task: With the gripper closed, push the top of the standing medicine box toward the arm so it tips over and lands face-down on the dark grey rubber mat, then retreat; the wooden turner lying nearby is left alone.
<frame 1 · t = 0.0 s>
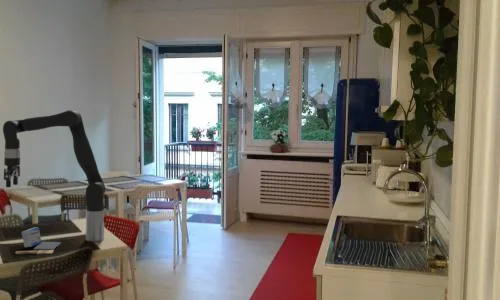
hand: (11, 185, 234), 29 cm above the table, fingers open, 8 cm apart
medicine box: (33, 245, 224), on the table
rubber mat: (47, 246, 225), on the table
wooden turner: (36, 253, 214), on the table
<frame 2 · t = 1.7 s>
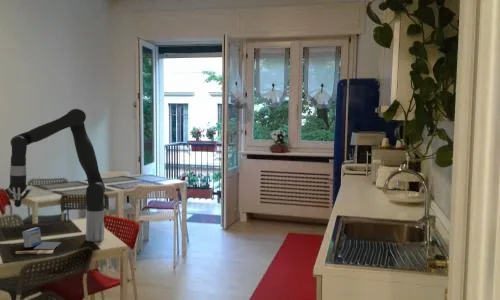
hand: (17, 206, 222), 21 cm above the table, fingers closed
medicine box: (33, 245, 224), on the table, touching rubber mat
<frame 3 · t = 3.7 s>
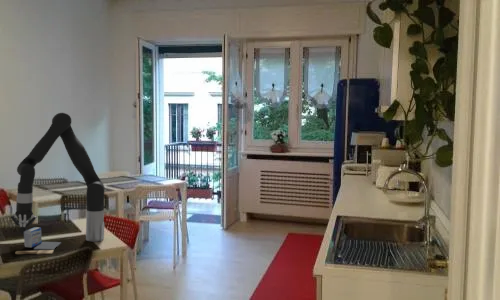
hand: (23, 233, 223), 7 cm above the table, fingers closed
medicine box: (33, 245, 224), on the table, touching gripper, rubber mat
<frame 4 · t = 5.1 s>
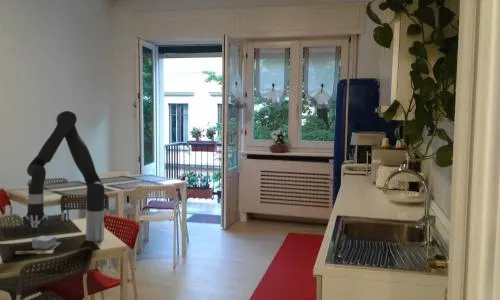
hand: (35, 234, 224), 6 cm above the table, fingers closed
medicine box: (36, 241, 224), point 3 cm above the table, touching rubber mat
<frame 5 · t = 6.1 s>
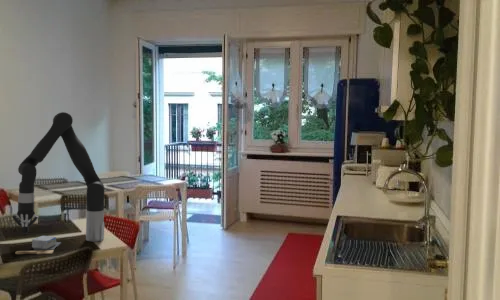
hand: (25, 233, 223), 7 cm above the table, fingers closed
nothing on the table moved.
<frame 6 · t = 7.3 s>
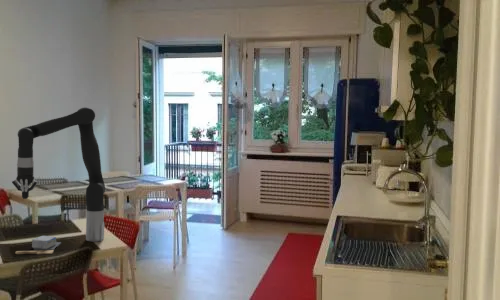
hand: (25, 198, 223), 25 cm above the table, fingers closed
nothing on the table moved.
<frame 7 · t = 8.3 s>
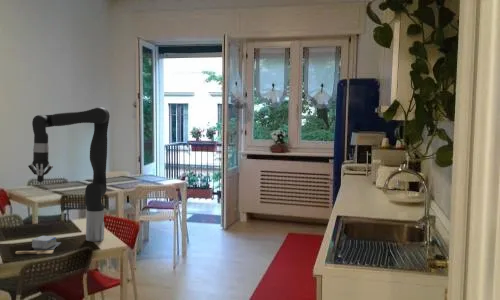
hand: (40, 182, 236), 32 cm above the table, fingers closed
nothing on the table moved.
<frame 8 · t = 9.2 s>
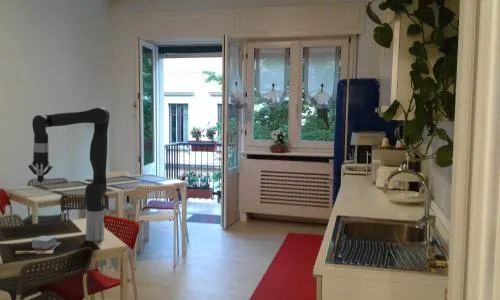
hand: (40, 182, 236), 32 cm above the table, fingers closed
nothing on the table moved.
at the end: medicine box tilted 90°; medicine box inside the target area (1.2 cm from its centre), point 2.8 cm above the table; medicine box touching rubber mat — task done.
